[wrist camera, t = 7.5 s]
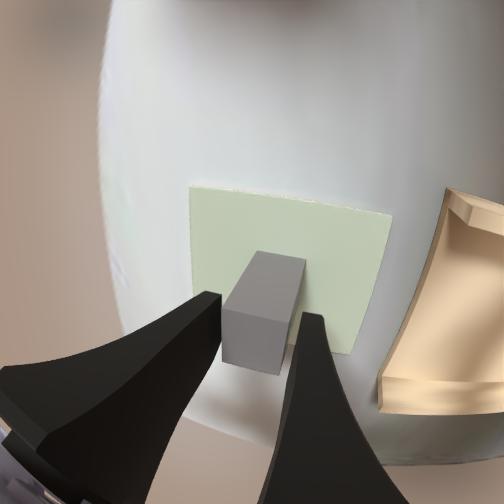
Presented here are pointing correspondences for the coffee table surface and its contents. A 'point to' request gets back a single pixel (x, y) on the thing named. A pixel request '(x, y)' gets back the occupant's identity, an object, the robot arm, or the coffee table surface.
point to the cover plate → (293, 233)
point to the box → (453, 319)
